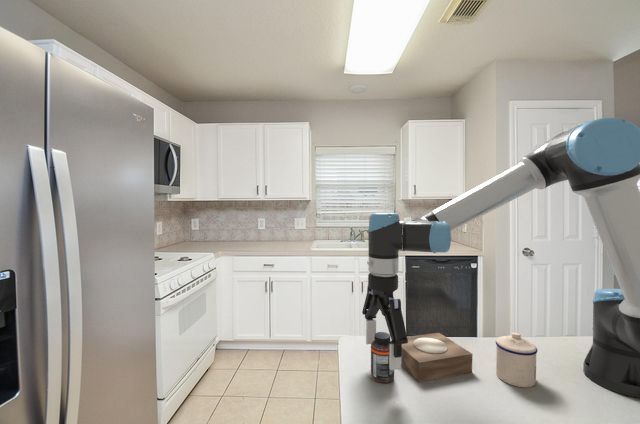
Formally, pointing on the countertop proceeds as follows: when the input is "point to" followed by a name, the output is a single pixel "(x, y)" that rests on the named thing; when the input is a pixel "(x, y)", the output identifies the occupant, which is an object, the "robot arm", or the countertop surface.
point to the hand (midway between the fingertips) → (382, 355)
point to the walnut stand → (434, 357)
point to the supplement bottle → (381, 358)
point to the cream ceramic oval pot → (516, 360)
